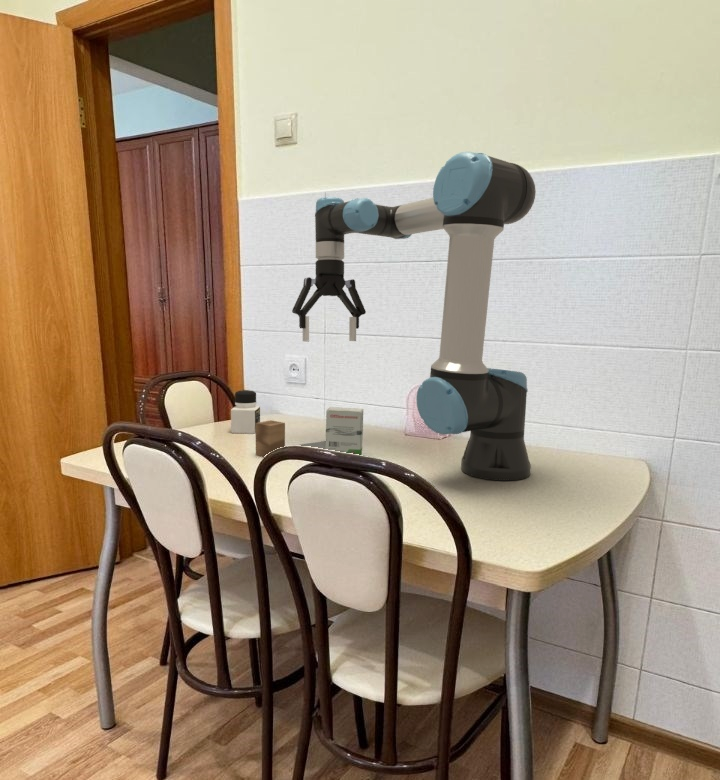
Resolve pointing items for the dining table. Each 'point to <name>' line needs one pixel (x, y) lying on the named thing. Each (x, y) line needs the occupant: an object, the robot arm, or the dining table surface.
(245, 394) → the medicine bottle
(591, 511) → the dining table surface
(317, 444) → the mat
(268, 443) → the walnut block
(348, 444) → the ink box
